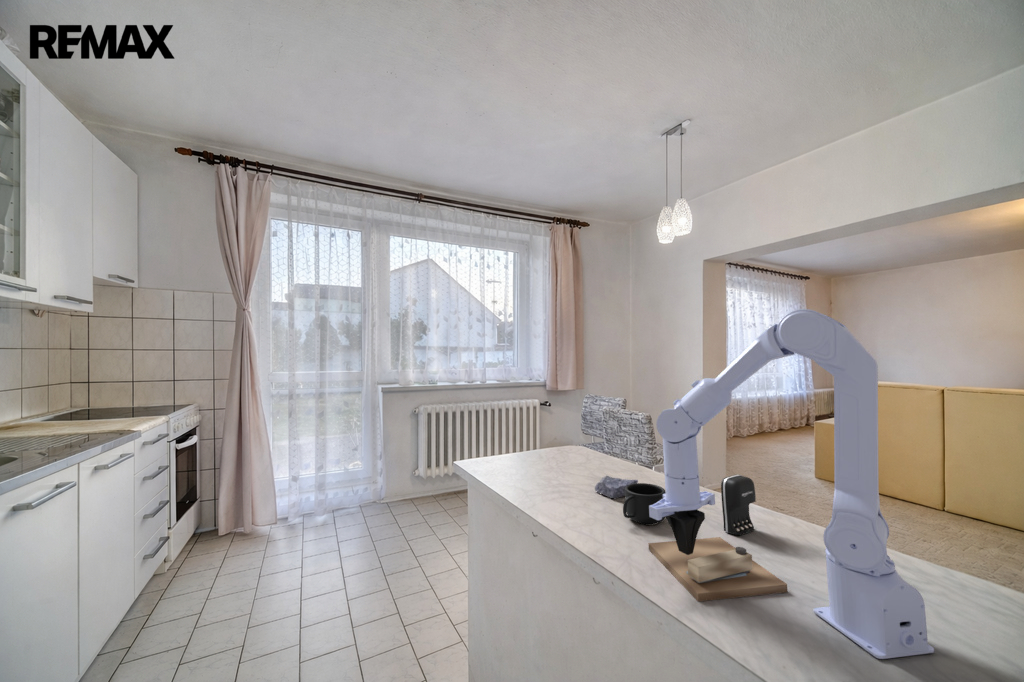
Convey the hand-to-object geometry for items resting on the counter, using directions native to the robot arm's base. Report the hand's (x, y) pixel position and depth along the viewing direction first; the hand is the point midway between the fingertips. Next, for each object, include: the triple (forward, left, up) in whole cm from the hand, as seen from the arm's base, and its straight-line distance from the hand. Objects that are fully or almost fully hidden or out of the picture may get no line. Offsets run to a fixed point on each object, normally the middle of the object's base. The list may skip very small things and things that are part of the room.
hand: (685, 551), depth 71 cm
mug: (+21, -1, -3) cm, 21 cm away
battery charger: (+12, -19, -3) cm, 22 cm away
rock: (+40, -1, -3) cm, 40 cm away
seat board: (-1, -4, -3) cm, 5 cm away
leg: (-5, -3, -1) cm, 6 cm away
